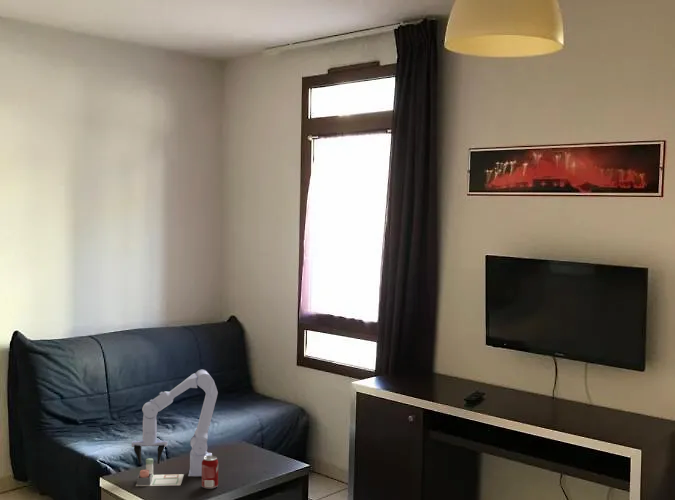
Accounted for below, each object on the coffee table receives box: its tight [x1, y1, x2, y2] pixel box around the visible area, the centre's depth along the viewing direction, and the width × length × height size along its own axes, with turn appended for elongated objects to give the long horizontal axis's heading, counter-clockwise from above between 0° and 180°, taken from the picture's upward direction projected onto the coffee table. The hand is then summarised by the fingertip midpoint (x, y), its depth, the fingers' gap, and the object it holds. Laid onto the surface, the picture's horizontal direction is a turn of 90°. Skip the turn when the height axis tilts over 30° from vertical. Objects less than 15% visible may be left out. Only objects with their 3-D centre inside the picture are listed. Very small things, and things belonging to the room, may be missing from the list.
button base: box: [136, 473, 152, 485], centre depth 314 cm, size 5×5×3 cm
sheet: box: [135, 473, 185, 487], centre depth 318 cm, size 18×13×1 cm
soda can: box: [201, 455, 219, 490], centre depth 312 cm, size 7×7×12 cm
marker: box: [145, 457, 154, 478], centre depth 321 cm, size 3×3×8 cm
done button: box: [139, 468, 149, 478], centre depth 314 cm, size 4×4×4 cm
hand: (149, 463), depth 321 cm, fingers open, 7 cm apart
